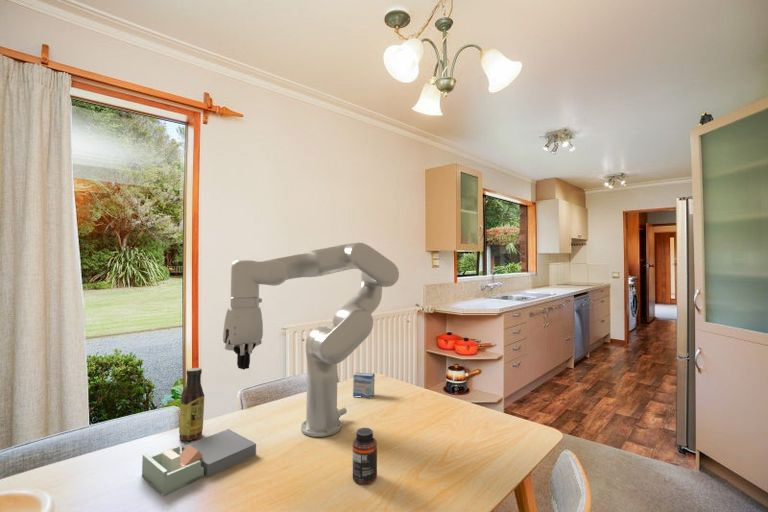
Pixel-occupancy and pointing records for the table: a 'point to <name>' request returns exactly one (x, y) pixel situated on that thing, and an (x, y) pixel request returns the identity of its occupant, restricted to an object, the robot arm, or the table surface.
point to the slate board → (223, 451)
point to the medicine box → (363, 384)
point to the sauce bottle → (192, 407)
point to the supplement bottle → (364, 457)
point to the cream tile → (170, 460)
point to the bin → (171, 480)
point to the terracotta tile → (189, 456)
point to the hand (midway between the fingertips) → (243, 368)
